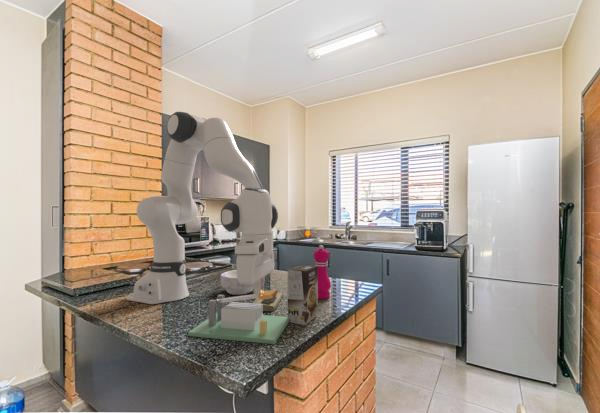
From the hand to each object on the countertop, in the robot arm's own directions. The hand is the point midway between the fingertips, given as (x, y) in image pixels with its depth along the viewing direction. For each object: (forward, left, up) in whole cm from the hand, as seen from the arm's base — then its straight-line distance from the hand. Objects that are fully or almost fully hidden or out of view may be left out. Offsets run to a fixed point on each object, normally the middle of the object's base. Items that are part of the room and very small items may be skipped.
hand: (259, 293), depth 81 cm
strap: (-4, 0, -2) cm, 5 cm away
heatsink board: (-5, 0, -10) cm, 11 cm away
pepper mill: (+13, +34, -10) cm, 38 cm away
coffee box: (+10, +11, -11) cm, 18 cm away
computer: (-5, +22, -11) cm, 25 cm away
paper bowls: (-21, +34, -10) cm, 42 cm away
